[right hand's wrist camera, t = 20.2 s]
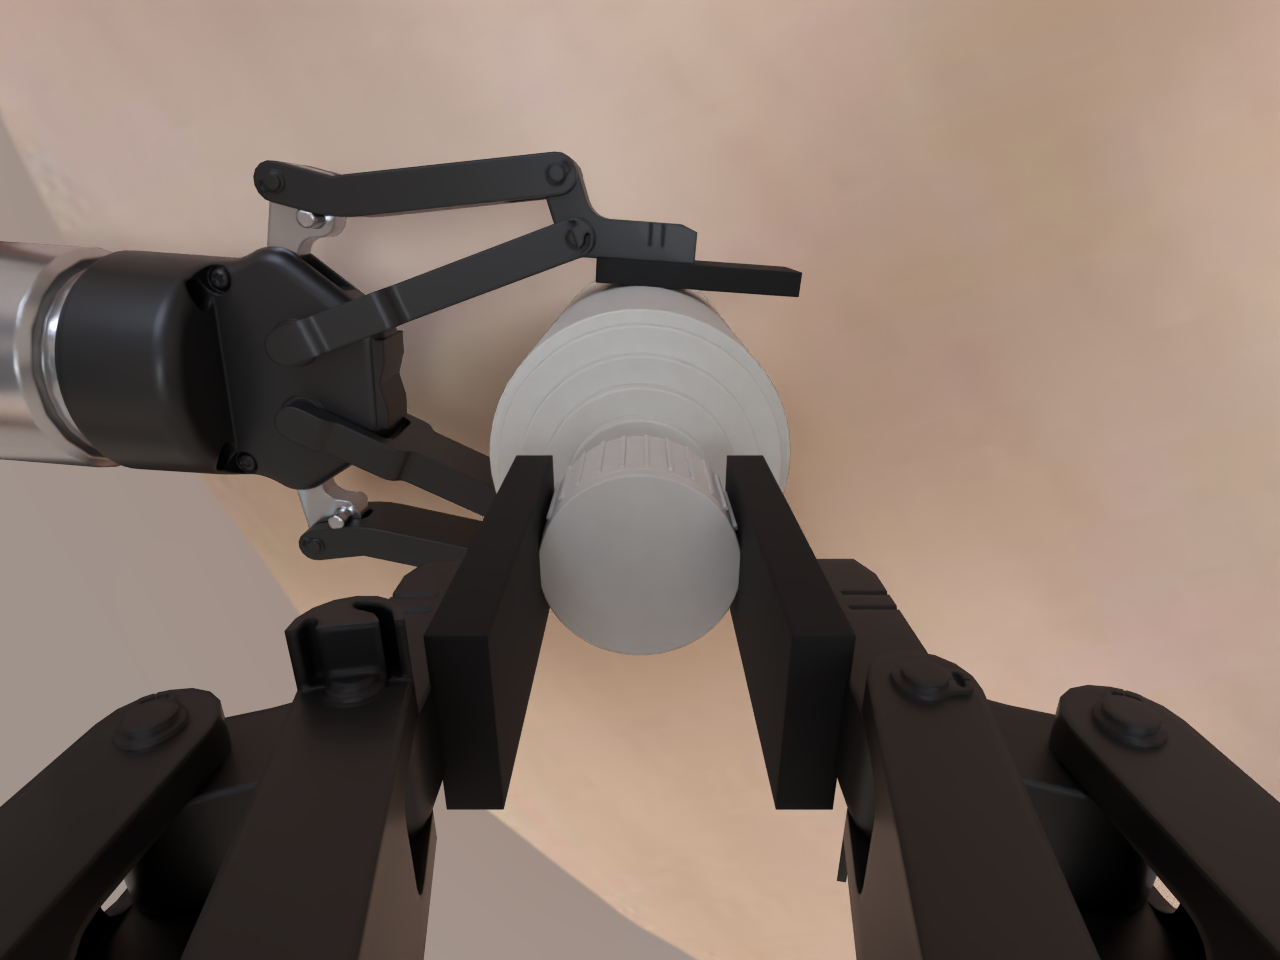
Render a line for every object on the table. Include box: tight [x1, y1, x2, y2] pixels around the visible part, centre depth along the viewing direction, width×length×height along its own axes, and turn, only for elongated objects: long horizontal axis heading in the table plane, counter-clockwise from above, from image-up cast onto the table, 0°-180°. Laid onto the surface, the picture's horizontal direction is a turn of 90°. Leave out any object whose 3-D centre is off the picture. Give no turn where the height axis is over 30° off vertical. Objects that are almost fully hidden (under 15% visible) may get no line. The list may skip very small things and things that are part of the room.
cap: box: [539, 434, 740, 655], centre depth 13 cm, size 4×4×2 cm
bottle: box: [490, 281, 791, 494], centre depth 22 cm, size 8×8×18 cm
